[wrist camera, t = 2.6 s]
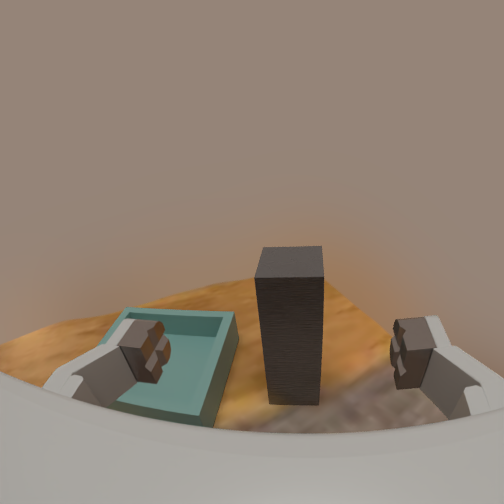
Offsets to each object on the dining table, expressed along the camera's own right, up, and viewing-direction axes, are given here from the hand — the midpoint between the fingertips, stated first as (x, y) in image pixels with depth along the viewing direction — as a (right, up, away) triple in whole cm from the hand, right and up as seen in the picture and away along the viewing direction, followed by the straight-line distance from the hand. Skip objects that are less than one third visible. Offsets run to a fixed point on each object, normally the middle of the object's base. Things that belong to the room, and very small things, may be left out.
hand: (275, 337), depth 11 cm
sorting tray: (-10, -11, +21) cm, 26 cm away
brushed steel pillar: (+3, -10, +19) cm, 21 cm away
